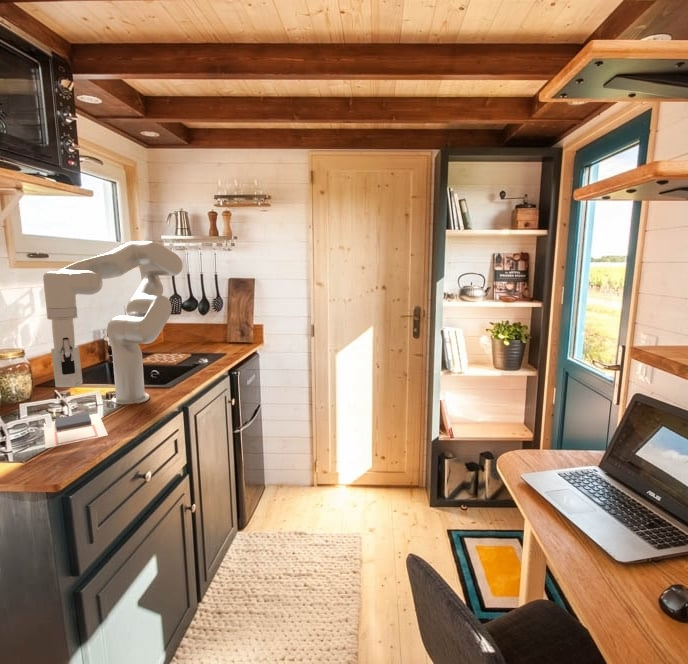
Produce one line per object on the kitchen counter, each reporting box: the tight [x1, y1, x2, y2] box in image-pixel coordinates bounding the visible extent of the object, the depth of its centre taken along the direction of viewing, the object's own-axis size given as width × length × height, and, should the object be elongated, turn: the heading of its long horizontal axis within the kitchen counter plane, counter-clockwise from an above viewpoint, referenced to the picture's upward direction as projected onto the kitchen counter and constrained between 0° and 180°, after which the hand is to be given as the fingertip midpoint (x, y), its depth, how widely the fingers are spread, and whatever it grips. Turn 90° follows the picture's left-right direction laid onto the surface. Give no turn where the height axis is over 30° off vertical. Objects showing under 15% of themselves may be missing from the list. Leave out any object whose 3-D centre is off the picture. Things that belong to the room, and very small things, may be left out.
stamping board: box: [43, 413, 109, 449], centre depth 126 cm, size 21×15×1 cm
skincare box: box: [50, 345, 83, 388], centre depth 127 cm, size 6×4×12 cm
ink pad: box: [54, 412, 91, 431], centre depth 130 cm, size 8×9×1 cm
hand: (67, 370), depth 127 cm, fingers closed on skincare box, 6 cm apart
